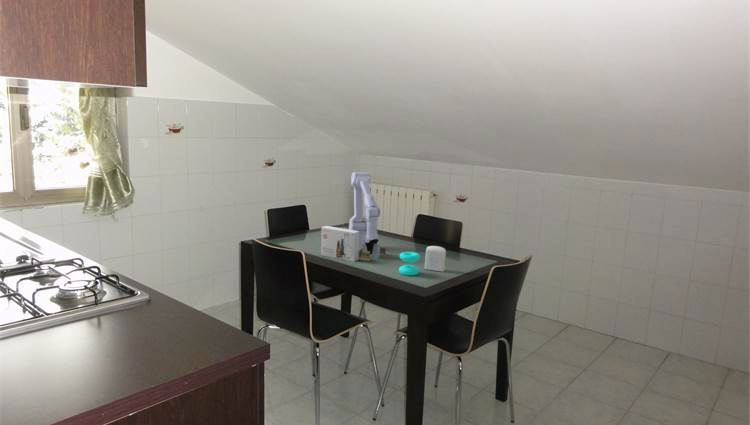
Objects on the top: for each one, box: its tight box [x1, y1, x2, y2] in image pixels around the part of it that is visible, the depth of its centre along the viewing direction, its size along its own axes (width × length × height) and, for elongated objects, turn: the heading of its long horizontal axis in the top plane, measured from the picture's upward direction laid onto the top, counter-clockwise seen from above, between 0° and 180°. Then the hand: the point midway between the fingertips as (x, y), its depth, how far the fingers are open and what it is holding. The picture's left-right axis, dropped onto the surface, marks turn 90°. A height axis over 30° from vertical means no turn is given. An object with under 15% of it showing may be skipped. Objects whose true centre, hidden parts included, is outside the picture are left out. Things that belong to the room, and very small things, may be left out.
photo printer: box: [424, 245, 447, 273], centre depth 271 cm, size 10×4×12 cm, turn 72°
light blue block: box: [362, 243, 381, 259], centre depth 293 cm, size 3×9×7 cm, turn 70°
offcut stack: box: [360, 251, 372, 261], centre depth 286 cm, size 2×5×4 cm, turn 70°
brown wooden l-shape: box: [359, 246, 387, 257], centre depth 295 cm, size 12×14×4 cm
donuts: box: [398, 251, 421, 277], centre depth 264 cm, size 10×10×10 cm
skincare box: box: [320, 225, 360, 262], centre depth 287 cm, size 21×6×16 cm, turn 62°
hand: (371, 253), depth 293 cm, fingers closed on light blue block, 3 cm apart
